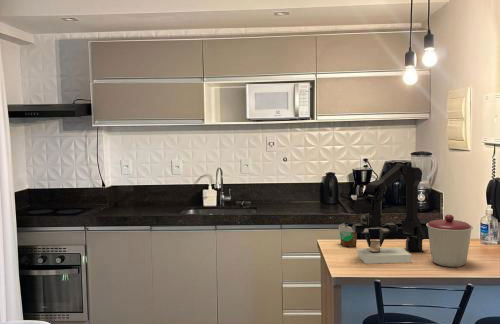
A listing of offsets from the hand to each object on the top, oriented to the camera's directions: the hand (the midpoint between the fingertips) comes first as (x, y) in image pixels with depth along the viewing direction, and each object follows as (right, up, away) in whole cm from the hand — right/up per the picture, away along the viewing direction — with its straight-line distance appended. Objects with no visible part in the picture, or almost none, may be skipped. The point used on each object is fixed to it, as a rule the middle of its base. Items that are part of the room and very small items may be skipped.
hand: (374, 246), depth 199 cm
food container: (-8, -5, +25) cm, 27 cm away
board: (+4, -6, 0) cm, 7 cm away
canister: (+29, -6, -8) cm, 31 cm away
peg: (0, -5, 0) cm, 5 cm away
